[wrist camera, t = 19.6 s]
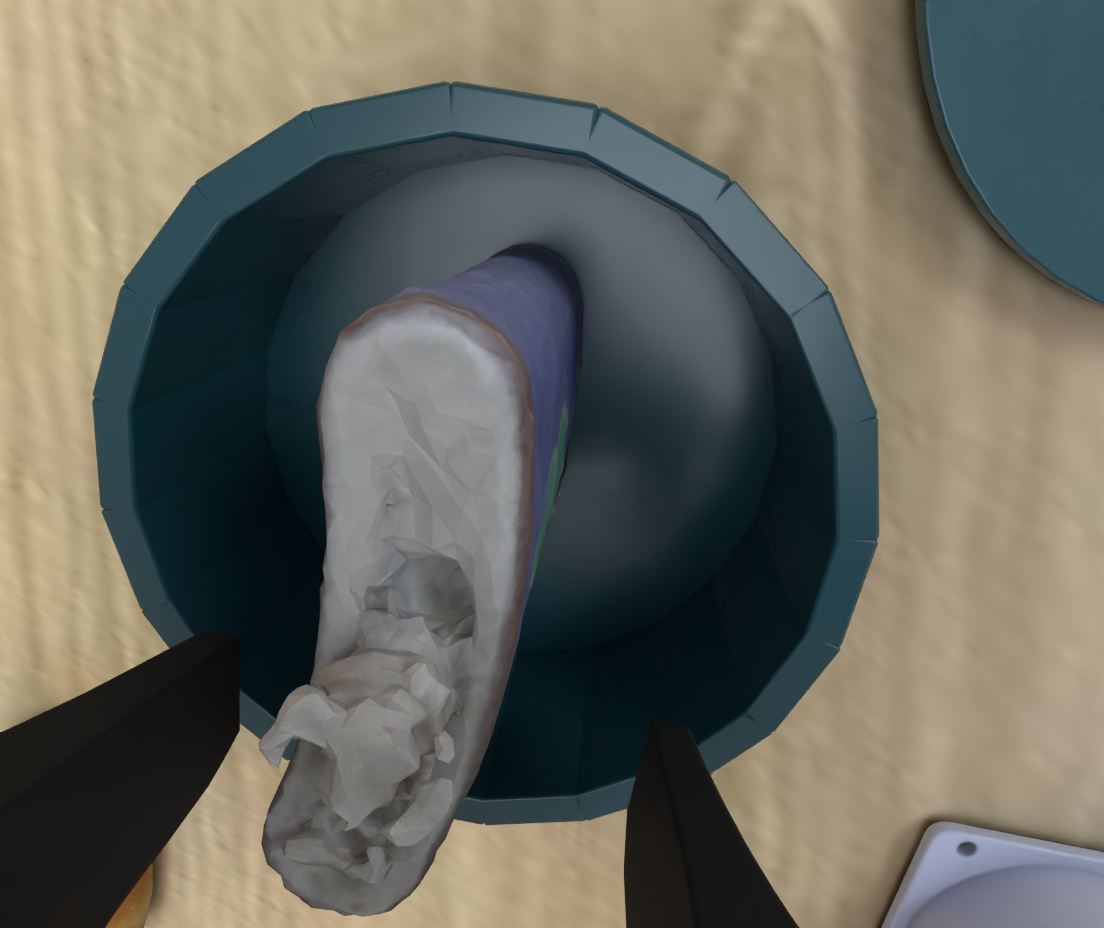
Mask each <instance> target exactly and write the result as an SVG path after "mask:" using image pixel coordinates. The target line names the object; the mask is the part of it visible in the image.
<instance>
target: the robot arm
mask: <svg viewBox="0 0 1104 928" xmlns="http://www.w3.org/2000/svg"><path fill="white" fill-rule="evenodd" d="M239 731H240V637H239V636H234V635H229V634H224V633H219V632H214V631H209V630H205V631H203V632H201V633H199V634H197V635H195V636H193V637H191V638H189V639H187V640H185V641H183V642H181V643H179V644H177V645H175V646H173V647H172V648H170V649H168V650H166V651H164V652H162V653H160V654H158V655H156V656H155V657H153V658H151V659H149V660H147V661H145V662H143V663H142V664H140V665H138V666H136V667H134V668H132V669H130V670H128V671H126V672H124V673H122V674H121V675H119V676H117V677H115V678H113V679H111V680H109V681H107V682H105V683H103V684H101V685H99V686H97V687H96V688H94V689H92V690H90V691H88V692H86V693H84V694H82V695H80V696H77V697H75V698H73V699H71V700H69V701H67V702H65V703H63V704H61V705H59V706H56V707H54V708H52V709H50V710H48V711H46V712H44V713H42V714H40V715H38V716H35V717H33V718H31V719H29V720H27V721H25V722H23V723H21V724H19V725H16V726H14V727H12V728H10V729H7V730H5V731H3V732H0V928H105V927H106V926H107V925H108V923H109V922H110V920H111V919H112V917H113V916H114V914H115V913H116V911H117V910H118V908H119V907H120V906H121V904H122V903H123V902H124V900H125V899H126V898H127V896H128V895H129V894H130V892H131V891H132V889H133V888H134V887H135V885H136V884H137V883H138V881H139V880H140V879H141V877H142V876H143V875H144V873H145V872H146V871H147V869H148V868H149V866H150V865H151V864H152V862H153V861H154V860H155V858H156V857H157V856H158V854H159V853H160V852H161V850H162V849H163V848H164V846H165V845H166V843H167V842H168V841H169V839H170V838H171V837H172V835H173V834H174V833H175V831H176V830H177V829H178V827H179V826H180V824H181V823H182V822H183V820H184V819H185V818H186V816H187V815H188V813H189V812H190V811H191V809H192V808H193V807H194V805H195V804H196V802H197V801H198V800H199V798H200V797H201V796H202V794H203V793H204V791H205V790H206V788H207V787H208V786H209V784H210V782H211V781H212V779H213V777H214V776H215V774H216V772H217V770H218V769H219V767H220V765H221V763H222V762H223V760H224V758H225V756H226V755H227V753H228V751H229V749H230V747H231V745H232V743H233V742H234V740H235V738H236V736H237V734H238V732H239ZM964 842H967V843H964ZM961 843H964V844H961ZM624 887H625V908H626V928H799V927H798V925H797V924H796V923H795V921H794V920H793V918H792V917H791V915H790V914H789V912H788V911H787V909H786V908H785V906H784V905H783V903H782V902H781V900H780V899H779V897H778V895H777V894H776V892H775V891H774V889H773V888H772V886H771V884H770V883H769V881H768V880H767V878H766V876H765V875H764V873H763V871H762V870H761V868H760V866H759V865H758V863H757V861H756V860H755V858H754V856H753V855H752V853H751V851H750V849H749V848H748V846H747V844H746V842H745V841H744V839H743V837H742V835H741V833H740V831H739V830H738V828H737V826H736V824H735V822H734V820H733V819H732V817H731V815H730V813H729V811H728V809H727V807H726V805H725V803H724V802H723V800H722V798H721V796H720V794H719V792H718V790H717V788H716V785H715V783H714V781H713V779H712V777H711V775H710V773H709V771H708V769H707V767H706V765H705V762H704V760H703V758H702V756H701V754H700V751H699V749H698V747H697V744H696V742H695V740H694V738H693V735H692V733H691V731H690V730H689V728H688V727H687V726H684V725H679V724H674V723H669V722H664V721H659V720H654V719H651V721H650V725H649V729H648V733H647V737H646V740H645V744H644V748H643V752H642V756H641V760H640V763H639V767H638V771H637V775H636V779H635V783H634V786H633V790H632V794H631V798H630V802H629V806H628V809H627V823H626V840H625V858H624ZM881 928H1104V852H1101V851H1096V850H1091V849H1086V848H1081V847H1075V846H1070V845H1065V844H1060V843H1055V842H1050V841H1045V840H1040V839H1035V838H1030V837H1024V836H1019V835H1014V834H1009V833H1004V832H999V831H994V830H989V829H984V828H979V827H973V826H968V825H963V824H958V823H953V822H944V821H941V822H937V823H934V824H932V825H931V826H929V827H928V829H927V830H926V831H925V833H924V835H923V838H922V840H921V842H920V844H919V846H918V849H917V851H916V853H915V855H914V857H913V859H912V862H911V864H910V866H909V868H908V870H907V872H906V875H905V877H904V879H903V881H902V883H901V886H900V888H899V890H898V892H897V894H896V896H895V899H894V901H893V903H892V905H891V907H890V910H889V912H888V914H887V916H886V918H885V920H884V923H883V925H882V927H881Z"/></svg>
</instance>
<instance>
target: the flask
mask: <svg viewBox="0 0 1104 928" xmlns="http://www.w3.org/2000/svg"><path fill="white" fill-rule="evenodd" d="M583 316H584V306H583V299H582V295H581V292H580V289H579V285H578V283H577V280H576V278H575V276H574V274H573V272H572V270H571V269H570V267H569V265H568V264H567V263H566V262H565V261H564V260H563V258H562V257H560V256H558V255H557V254H555V253H553V252H552V251H549V250H547V249H544V248H541V247H538V246H536V245H512V246H510V247H508V248H506V249H504V250H501V251H499V252H497V253H496V254H494V255H493V256H491V257H489V258H488V259H487V260H485V261H482V262H481V263H479V264H477V265H475V266H473V267H471V268H470V269H468V270H466V271H464V272H463V273H460V274H457V275H454V276H452V277H450V278H449V279H447V280H445V281H443V282H440V283H437V284H434V285H420V286H410V287H407V288H406V289H404V290H403V291H401V292H400V293H398V294H397V295H395V296H394V297H392V298H391V299H389V300H388V301H386V302H384V303H381V304H379V305H377V306H375V307H373V308H371V309H369V310H367V311H366V312H365V313H364V314H363V315H361V316H360V317H359V318H358V319H356V320H355V321H354V322H352V323H351V324H350V325H348V326H347V327H345V328H344V329H343V330H341V331H340V334H339V336H338V339H337V342H336V344H335V347H334V349H333V352H332V354H331V356H330V358H329V360H328V363H327V365H326V369H325V374H324V378H323V383H322V387H321V392H320V395H319V398H318V401H317V404H316V407H317V420H318V432H319V442H320V452H321V459H322V466H323V478H322V489H323V495H324V501H325V513H326V532H327V544H326V550H325V557H324V563H323V573H324V580H323V582H322V585H321V587H320V620H319V630H318V639H317V646H316V653H315V665H314V669H313V673H312V677H311V680H310V686H309V685H304V686H301V687H298V688H297V689H295V690H294V691H293V692H292V693H290V694H289V695H288V696H287V698H286V700H285V702H284V703H283V705H282V707H281V709H280V711H279V713H278V716H277V719H276V722H275V724H274V725H273V726H272V727H271V728H270V730H269V731H268V732H267V733H266V734H265V735H264V736H263V737H262V739H261V740H260V742H259V748H260V751H261V752H262V754H263V755H264V756H265V758H266V759H267V760H268V762H269V763H270V764H271V765H273V766H276V767H278V768H279V765H280V761H281V757H282V755H283V752H284V750H285V749H286V747H287V745H288V744H289V742H290V740H291V739H292V738H293V739H298V740H297V743H296V746H295V749H294V752H293V755H292V758H291V760H290V763H289V765H288V767H287V769H286V772H285V774H284V776H283V778H282V781H281V783H280V785H279V787H278V789H277V791H276V794H275V796H274V798H273V800H272V802H271V805H270V807H269V809H268V813H267V818H266V821H265V824H264V830H263V837H262V847H263V851H264V854H265V858H266V861H267V864H268V865H269V866H270V867H271V868H272V869H274V870H275V871H276V872H277V873H278V874H280V875H281V877H282V880H283V884H284V887H285V888H286V889H287V890H289V891H290V892H292V893H293V894H295V895H296V896H298V897H300V899H301V900H302V901H303V902H305V903H306V904H308V905H309V906H310V907H311V908H317V909H325V910H333V911H336V912H338V913H340V914H342V915H344V916H347V915H357V916H362V917H363V916H370V915H376V914H381V913H384V912H388V911H391V910H392V909H393V908H395V907H396V906H397V905H398V904H399V903H400V902H402V901H403V900H404V899H406V898H407V897H409V896H410V895H411V893H412V892H413V891H414V890H415V889H416V888H417V887H418V885H419V884H420V882H421V881H422V879H423V878H424V876H425V874H426V873H427V871H428V870H429V868H430V866H431V865H432V863H433V861H434V858H435V855H436V852H437V850H438V848H439V847H440V845H441V844H442V843H443V841H444V840H445V839H446V836H447V834H448V831H449V829H450V826H451V824H452V822H453V820H454V818H455V816H456V813H457V811H458V809H459V807H460V805H461V804H462V802H463V800H464V798H465V796H466V795H467V793H468V791H469V789H470V787H471V786H472V784H473V782H474V780H475V778H476V776H477V774H478V772H479V770H480V765H481V762H482V760H483V757H484V755H485V752H486V750H487V747H488V744H489V741H490V739H491V736H492V733H493V730H494V726H495V723H496V720H497V716H498V713H499V710H500V706H501V703H502V699H503V696H504V692H505V689H506V685H507V681H508V678H509V674H510V670H511V667H512V663H513V659H514V655H515V652H516V648H517V644H518V640H519V636H520V630H521V625H522V619H523V614H524V611H525V607H526V603H527V600H528V596H529V593H530V590H531V587H532V584H533V580H534V576H535V572H536V567H537V562H538V558H539V553H540V550H541V546H542V543H543V540H544V538H545V535H546V532H547V530H548V527H549V526H548V523H549V519H550V517H551V515H552V513H553V512H554V510H555V503H556V502H557V500H558V497H559V495H560V492H559V488H560V485H561V481H562V479H563V477H564V475H565V472H566V470H565V469H566V468H567V460H566V459H567V450H568V443H569V439H570V436H571V429H572V423H573V418H574V412H575V409H576V400H577V388H578V380H579V377H578V376H579V375H580V374H581V370H580V368H581V364H582V353H583V344H582V343H583V330H584V329H585V328H584V327H583V318H584V317H583Z"/></svg>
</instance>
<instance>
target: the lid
mask: <svg viewBox="0 0 1104 928" xmlns="http://www.w3.org/2000/svg"><path fill="white" fill-rule="evenodd" d="M915 21H916V33H917V41H918V48H919V56H920V64H921V71H922V79H923V83H924V87H925V91H926V94H927V98H928V102H929V105H930V109H931V112H932V116H933V120H934V123H935V127H936V131H937V133H938V135H939V137H940V140H941V142H942V144H943V147H944V149H945V151H946V153H947V156H948V158H949V160H950V163H951V165H952V167H953V169H954V172H955V174H956V176H957V177H958V179H959V181H960V182H961V184H962V185H963V187H964V188H965V190H966V192H967V193H968V195H969V196H970V198H971V199H972V201H973V203H974V204H975V206H976V207H977V209H978V211H979V212H980V214H981V215H982V216H983V217H984V218H985V219H986V221H987V222H988V223H989V224H990V225H991V226H992V227H993V228H994V230H995V231H996V232H997V233H998V234H999V235H1000V236H1001V238H1002V239H1003V240H1004V241H1005V242H1006V243H1007V244H1008V245H1009V247H1010V248H1011V249H1013V250H1014V251H1015V252H1016V253H1018V254H1019V255H1020V256H1021V257H1022V258H1024V259H1025V260H1026V261H1027V262H1028V263H1030V264H1031V265H1032V266H1033V267H1035V268H1036V269H1037V270H1038V271H1039V272H1041V273H1042V274H1043V275H1044V276H1046V277H1047V278H1049V279H1051V280H1053V281H1054V282H1056V283H1058V284H1059V285H1061V286H1063V287H1065V288H1066V289H1068V290H1070V291H1071V292H1073V293H1075V294H1077V295H1078V296H1080V297H1082V298H1083V299H1086V300H1088V301H1091V302H1093V303H1096V304H1098V305H1101V306H1104V0H915Z"/></svg>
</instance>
